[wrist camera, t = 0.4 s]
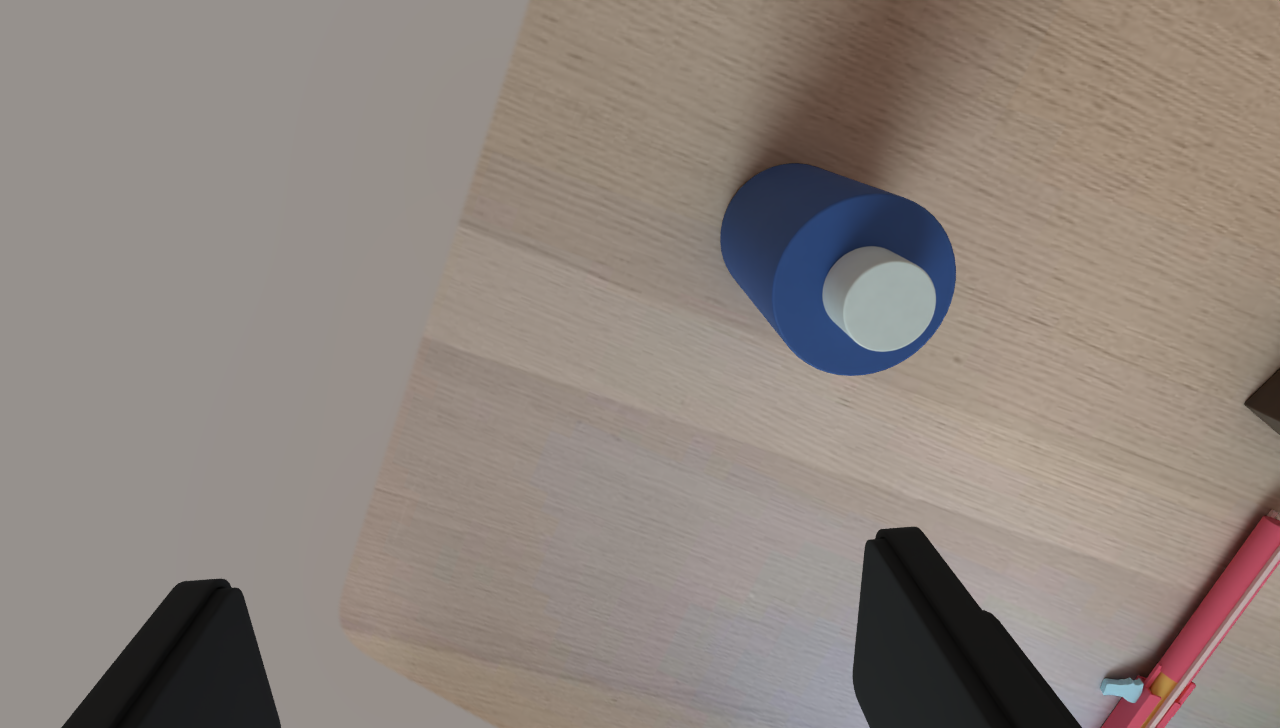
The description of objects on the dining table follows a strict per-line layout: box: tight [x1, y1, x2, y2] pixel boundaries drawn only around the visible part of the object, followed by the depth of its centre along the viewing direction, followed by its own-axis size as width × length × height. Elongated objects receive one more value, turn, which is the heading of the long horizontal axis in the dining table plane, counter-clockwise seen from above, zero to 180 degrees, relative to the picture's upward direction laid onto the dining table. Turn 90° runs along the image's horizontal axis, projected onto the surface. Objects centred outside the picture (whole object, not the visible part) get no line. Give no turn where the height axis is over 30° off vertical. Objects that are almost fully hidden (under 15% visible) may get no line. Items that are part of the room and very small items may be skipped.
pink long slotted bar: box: [1100, 509, 1280, 728], centre depth 42 cm, size 24×2×5 cm
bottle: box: [721, 163, 956, 376], centre depth 26 cm, size 6×6×11 cm
